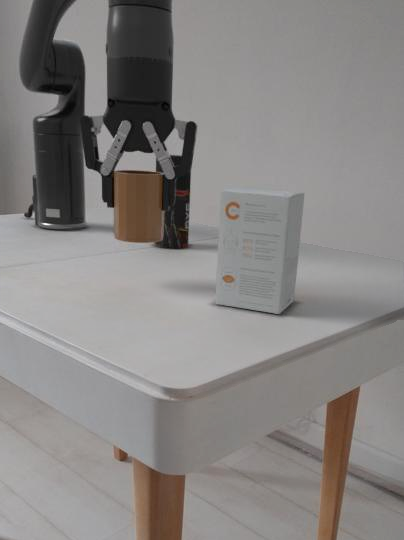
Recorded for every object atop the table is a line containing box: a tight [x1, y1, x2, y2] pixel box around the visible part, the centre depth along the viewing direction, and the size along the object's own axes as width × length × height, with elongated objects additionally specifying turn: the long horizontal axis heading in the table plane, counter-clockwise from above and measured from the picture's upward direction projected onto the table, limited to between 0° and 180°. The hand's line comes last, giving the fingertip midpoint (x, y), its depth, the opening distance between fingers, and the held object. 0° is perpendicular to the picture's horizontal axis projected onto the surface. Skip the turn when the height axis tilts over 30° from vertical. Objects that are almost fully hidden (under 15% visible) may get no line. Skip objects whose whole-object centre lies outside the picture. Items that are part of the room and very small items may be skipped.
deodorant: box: [154, 154, 192, 250], centre depth 97 cm, size 6×6×15 cm
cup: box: [113, 169, 165, 244], centre depth 70 cm, size 6×6×8 cm
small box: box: [214, 187, 305, 315], centre depth 65 cm, size 8×6×13 cm
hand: (138, 208), depth 70 cm, fingers closed on cup, 6 cm apart
